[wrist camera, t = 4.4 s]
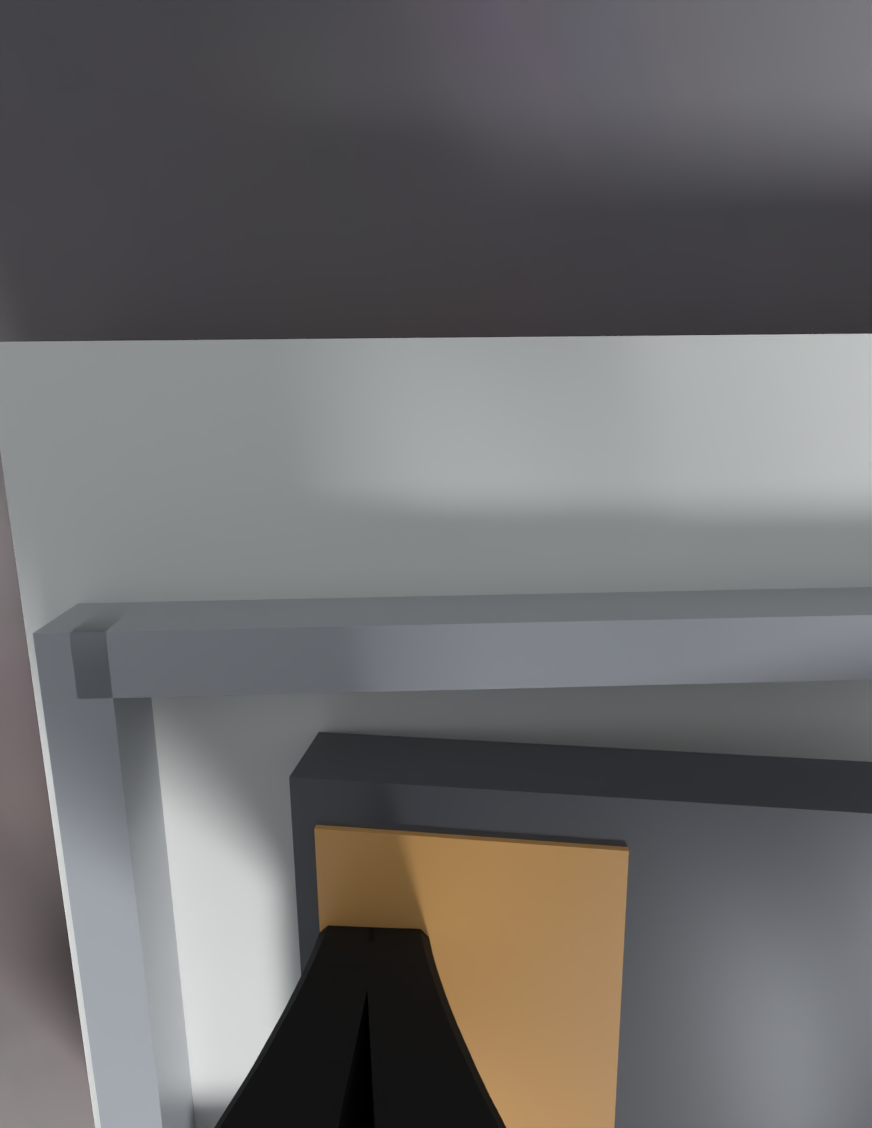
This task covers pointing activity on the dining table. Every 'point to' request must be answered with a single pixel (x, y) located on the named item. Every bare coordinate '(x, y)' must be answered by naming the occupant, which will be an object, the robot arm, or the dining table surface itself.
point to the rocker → (614, 919)
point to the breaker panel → (396, 611)
